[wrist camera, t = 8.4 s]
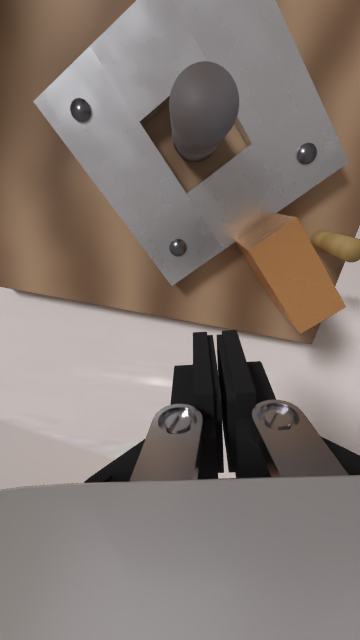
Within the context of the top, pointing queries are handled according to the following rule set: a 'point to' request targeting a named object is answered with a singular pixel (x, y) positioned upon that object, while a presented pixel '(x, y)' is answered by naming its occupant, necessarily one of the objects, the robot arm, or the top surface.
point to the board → (180, 155)
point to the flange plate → (232, 178)
